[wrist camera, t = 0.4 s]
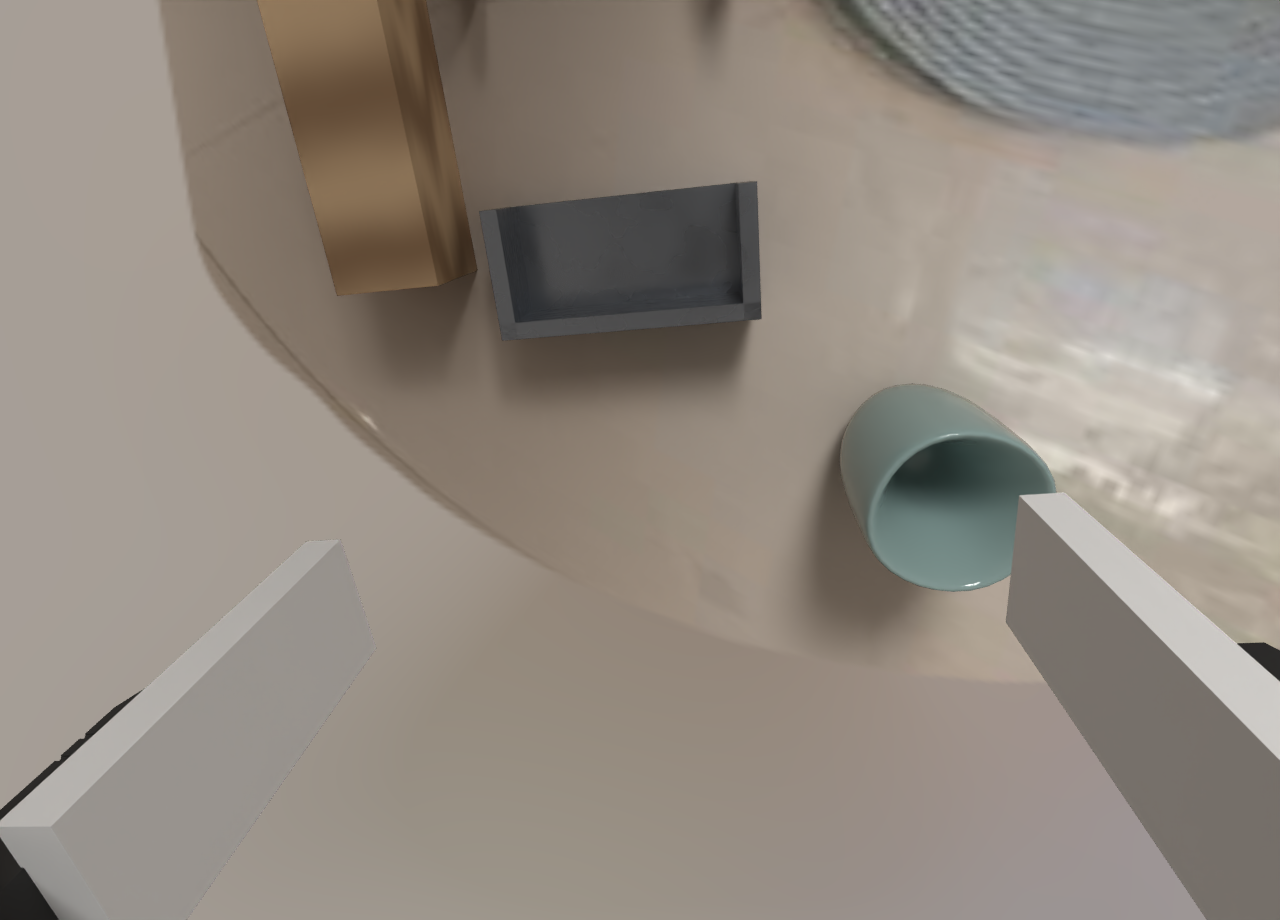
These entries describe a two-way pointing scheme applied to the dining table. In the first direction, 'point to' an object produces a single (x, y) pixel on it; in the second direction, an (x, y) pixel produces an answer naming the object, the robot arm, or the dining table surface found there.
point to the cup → (937, 486)
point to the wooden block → (372, 140)
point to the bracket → (625, 261)
